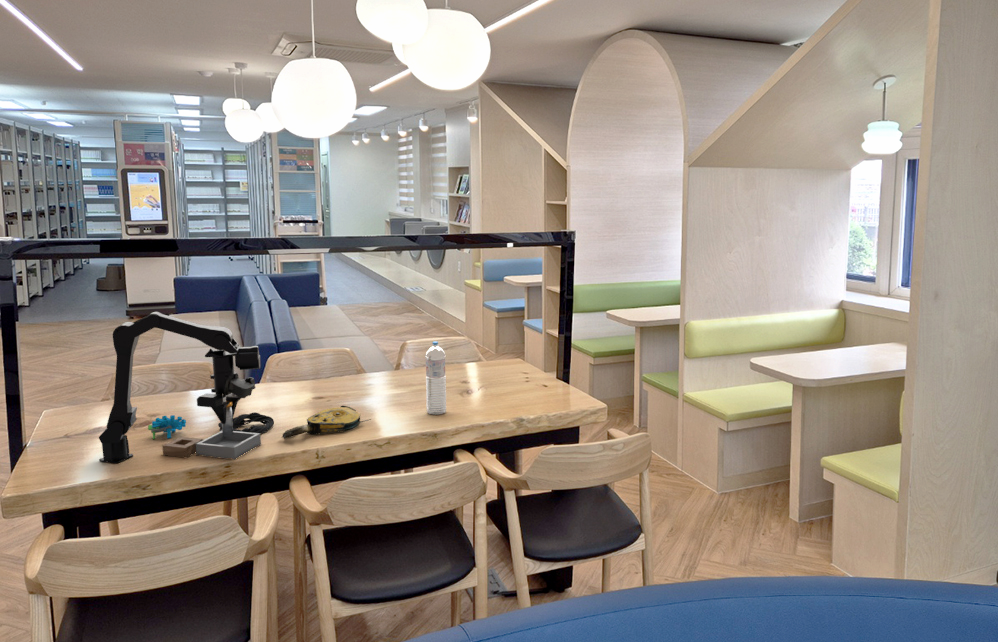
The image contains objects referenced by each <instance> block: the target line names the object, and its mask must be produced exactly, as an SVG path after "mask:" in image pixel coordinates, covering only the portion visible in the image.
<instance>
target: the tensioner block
mask: <svg viewBox="0 0 998 642" xmlns="http://www.w3.org/2000/svg"><path fill="white" fill-rule="evenodd" d="M204 439H205V438H198V437H187V436H179V437H177V438H175V439H173V440H171V441H169V442H167V443H165V444H163V445H162V456H165V455H168V456H167V457H175V456H179V457H178V458H184V457H187V458H189V457H191V456H192V455H191V454H193V455H195V454H196V453H195V452H196V443H198V442H200V441H202V440H204ZM194 453H195V454H194ZM190 455H191V456H190ZM188 456H189V457H188Z"/></svg>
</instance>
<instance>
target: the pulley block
mask: <svg viewBox="0 0 998 642" xmlns="http://www.w3.org/2000/svg"><path fill="white" fill-rule="evenodd" d="M360 420H361V413H360V412H358V411H357V409H354V408H352V407H350V406H346V405H340V407H339V406H338V407H331V408H326V409H323V410H321V411H319V412H317V413H315V414H313V415H311V416H310V417H307V418H306V421H307V422H306V423H307V424H302V425H299V426H295V427H293V428H290V429H287V430H285V432H283V433H282V436H281V438H283V439H284V440H285V439H288V438H292V437H296V436H299V435H302V434H305V433H306V434H309V435H323V434H324V435H325V434H335V433H336V434H337V433H345V432H350V431H353V430H354V429H357V427H359V426H360V423H364V422H368V421H371V420H372V418H370V419H366V420H362V421H360Z"/></svg>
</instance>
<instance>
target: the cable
mask: <svg viewBox="0 0 998 642" xmlns="http://www.w3.org/2000/svg"><path fill="white" fill-rule="evenodd" d="M250 423H260V424H263V425H251V426H249V427H244V428H243V429H239V428H241V427H243V426H246V425H249V424H250ZM274 425H275V421H274V418H272V417H271V416H269V415H264V414H261V413H259V412H250V413H243V414H240V415H238V416H235V417H233V431H239V432H250V433H260V435H262V434H263V433H266V432H268V431H269V430H271V428H273V426H274ZM217 426H218V427H219V432H220V431H222V423H221V421H220V422H219V423H218V425H217Z"/></svg>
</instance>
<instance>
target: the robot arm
mask: <svg viewBox="0 0 998 642" xmlns="http://www.w3.org/2000/svg"><path fill="white" fill-rule="evenodd" d="M152 329H160V330H163V331H167V332H170V333H174V334H177V335H181V336H185V337H187V338H192V339H195V340H197V341H200V342H201V343H202V344H204V345H206V346H209V347H210V348H209V350H208V351H207V352H206V353H205V354H204V357H205V358H212V359H211V360H212V371H213V374H211V375H210V377H209V378H210V379H211V380H213V385H214V386H213V388H210V389H211V390H210V391H211V393H204V394H202V395H200V396H198V397H197V398H196V406H197V407H201V408H202V407H203V408H211V409H212V411H213V412H214V413H215V415H216V417H217V418H218V420H219V421H220V422H221V423H222V424H225V423H226V407H227V405H228V404H229V403H230V402H226V401H232V403H233V405H232V420H233V418H234V416H235V412H236V407H237V404H238V402H239V401H240V400H242V399H246V398H247V397H250V396H251V395H252V392H253V391H254V390H256V381H255V378H254V377H251V376H249V377H247V378H246V379H244V378H243V379H241V378H239V373H238V372H235V367H236V368H237V369H239V370H240V371H243V370H260V369H261V355H260V351H259V346H258V345H253V346H243V347H242V346H241V344H239V343H238V342H237V340H236V339H235V338H234V336H233V333H232V330H231V329H229V328H228V327H224V326H218V325H204V324H199V323H194V322H192V321H187V320H184V319H181V318H177V317H174V316H170V315H167V314H163V313H161V312H159V311H154V312H151V313H150V314H148V315H146V316H144V317H142V318H139V319H137V320H136V321H133V322H132V321H125V322H122V323H121V324H120V325H118V326H117V327H116V328H115V329H113V331H112V342H113V348H114V351H115V354H116V364H115V376H114V377H115V378H114V379H115V381H114V393H113V394H114V395H113V404H112V407H111V411H110V412H109V416H108V418H107V423H106V428H104V429H105V430H103V432H101V434H100V435H99V436H98V440H99V442H101V449H102V457H101V458H100V459H99V460H98V462H102V463H111V464H118V463H122V462H124V461H126V460H127V459H130V458H132V457H134V454H133V453H130V445H129V439H128V435H127V433H128V432H129V431H130V429H131V428H132V426H133V425H134V423H135V422H136V421H137V416H136V414H137V410H138V407H137V406H134V407H133V406H132V402H131V397H132V396H131V393H132V379H133V363H134V354H135V351H136V348H137V345H138V342H139V340H140V339H139V338H140V336H141V335H143V334H145V333H147V332H148V331H150V330H152ZM234 362H235V363H234ZM234 365H235V367H234Z"/></svg>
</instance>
